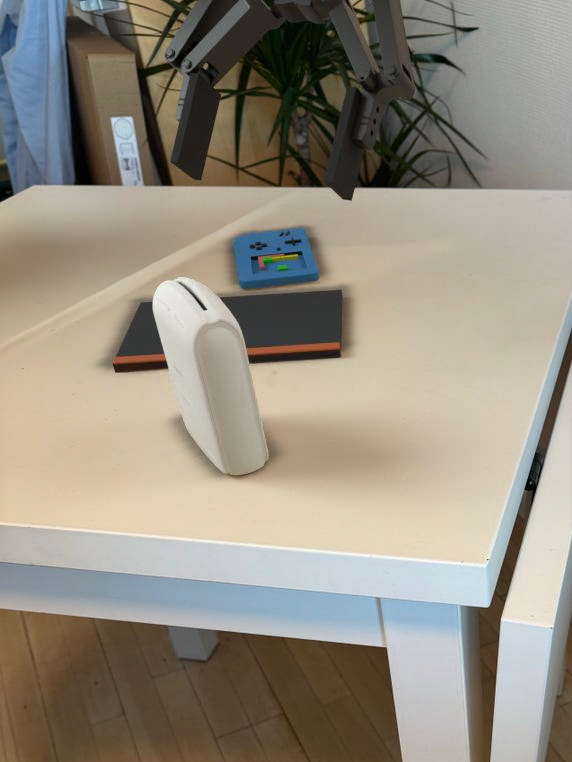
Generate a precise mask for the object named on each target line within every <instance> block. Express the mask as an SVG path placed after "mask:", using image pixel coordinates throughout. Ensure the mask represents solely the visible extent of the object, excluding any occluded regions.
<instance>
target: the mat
mask: <svg viewBox="0 0 572 762" xmlns="http://www.w3.org/2000/svg"><path fill="white" fill-rule="evenodd" d="M218 297H219V298H220V299H221V301H222V302H223V303H224V304H225V305H226V307H227V308H228V309H229V310H230V312H231V313H232V314H233V316H234V317H235V319H236V320H237V322H238V324H239V326H240V328H241V331H242V334H243V338H244V341H245V346H246V351H247V355H248V360H249V364H256V363H257V364H258V363H270V362H272V363H273V362H285V361H287V362H288V361H299V360H315V359H328V358H329V359H330V358H341V357H342V329H343V302H344V301H343V300H344V299H343V289H328V290H326V289H325V290H313V291H312V290H309V291H296V292H295V291H294V292H281V293H264V294H263V293H262V294H249V295H234V296H232V295H231V296H218ZM112 368H113V370H114V373H121V372H139V371H151V370H165V369H167V370H169V368H168V364H167V361H166V357H165V353H164V350H163V346H162V343H161V339H160V335H159V332H158V328H157V324H156V321H155V317H154V313H153V300H152V301H141V302H140V303H139V305H138V306H137V309H136V312H135V313H134V316H133V318H132V320H131V321H130V324H129V326H128V329H127V331H126V333H125V336H124V338H123V340H122V342H121V344H120V347H119V349H118V351H117V353H116V355H115V357H114V358H113V359H112Z"/></svg>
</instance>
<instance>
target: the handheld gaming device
mask: <svg viewBox="0 0 572 762" xmlns="http://www.w3.org/2000/svg"><path fill="white" fill-rule="evenodd" d="M233 250H234V257H235V265H236V271H237V278H238V284H239V288H240V289H241V290H251V289H259V288H269V287H279V286H285V285H294V284H303V283H312V282H316V281H319V280H320V273H319V267H318V264H317V262H316V260H315V256H314V252H313V250H312V246H311V244H310V241H309V238H308V235H307V231H306V229H305V228H303V227H299V228H289V229H280V230H279V229H278V230H269V231H260V232H251V233H247V234H243V235H240V236H238V237H236V238H235V239H233Z"/></svg>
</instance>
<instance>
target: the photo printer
mask: <svg viewBox="0 0 572 762" xmlns="http://www.w3.org/2000/svg"><path fill="white" fill-rule="evenodd" d="M219 297H220V296H219V295H217V294H216V293H215V292H214V291H212V290H211V289H210V288H209V287H208V286H206V285H205V284H203V283H202V282H200V281H198V280H196V279H194V278H191V277H186V276H178V277H176V278H175V279H172V280H171V279H167V280H164V281H162V282H161V283H160V284H159V285H158V286H157V288H156V289H155V292H154V294H153V297H152V301H153V313H154V317H155V321H156V324H157V328H158V332H159V335H160V339H161V343H162V346H163V350H164V353H165V357H166V361H167V364H168V368H169V369H168V371H169V376H170V378H171V383H172V386H173V389H174V393H175V396H176V400H177V403H178V407H179V410H180V414H181V418H182V420H183V423H184V426H185V428H186V430H187V432H188V433H189V435H190V437H191V438H192V439H193V441H194V442H195V443H196V445H197V446H198V447H199V449H200V450H201V451H202V453H204V455H205V456H206V457H207V458H208V459H209V460H210V462H211V463H212V464H213V465H214V466H215V467H216V468H217V469H218V470H219V471H220V472H222V473H223V474H224V475H227V474H229V475H231V476H242V475H247V474H250V473H253V472H256V471H258V470H259V469H261V468H263V466H265V463H266V462H268V461H269V459H270V458H269V457H270V456H269V449H268V445H267V444H268V443H267V439H266V435H265V430H264V426H263V421H262V417H261V412H260V407H259V402H258V398H257V393H256V389H255V384H254V380H253V375H252V374H253V373H252V370H251V365H250V363H249V360H248V355H247V351H246V346H245V341H244V338H243V334H242V331H241V328H240V326H239V324H238V322H237V320H236V319H235V317H234V316H233V314H232V313H231V312H230V310H229V309H228V308H227V307H226V305H225V304H224V303H223V302H222V301H221V299H220V298H219Z"/></svg>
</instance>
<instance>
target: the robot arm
mask: <svg viewBox="0 0 572 762" xmlns="http://www.w3.org/2000/svg"><path fill="white" fill-rule="evenodd" d="M269 1H270V3H271V4H272V6H269V5H268V4H266V2H265V1H264V0H196V2H195V3H194V5H193V6H192V8H191V10H190V11H189V12H188V14H187V16H186V18H185V19H184V21H183V22H182V24H181V25H180V27H179V29H178V30H177V32H176V33H175V35H174V37H173V38H172V39H171V41H170V42H169V44H168V46H167V48H166V49H165V51H164V60H165V61H166V62H167V63H168V64H169V65H170V66H171V67H173V68H174V70H176V71H177V72H178V73H179V74H180V75H181V76H182V83H181V87H180V92H179V96H178V99H177V105H176V109H175V121H177V122H178V125H177V129H176V134H175V139H174V144H173V147H172V151H171V156H170V159H169V162H170V163H171V164H172V165H174V166H175V167H176V168H178V169H179V170H180V171H181V172H183V173H184V174H186V175H187V176H188V177H189V178H191V180H195V181H202V179H203V175H204V170H205V167H206V161H207V158H208V153H209V149H210V145H211V141H212V138H213V137H212V136H213V132H214V127H215V123H216V119H217V115H218V110H219V106H220V102H221V98H222V94H221V92H219V91H218V90H217V89H216V88H215V87H216V86H217V85H218V84H219V83H220V82H221V80H222V79H223V78H224V77H225V76H226V75H227V74H228V73H229V72H230V71H231V70H232V69H233V68H234V67H235V66H236V65H237V64H238V62H239V61H241V59H243V57H244V56H245V55H246V54H247V53H249V51H250V50H251V49H253V47H254V46H255V45H256V44H257V43H258V42H259V41H260V40H261V38H262V37H263V36H264V35H266V33H267V32H268V31H270V30H278V29H279V28H280V27H281V26H282V25H283V24H284V23H285V22H286V21H288V22H289V23H302V22H307V21H309V22H311V23H313V24H316V25H317V24H318V25H325V24H326V21H327V20H329V19H331V21H332V25H333V26H334V28H335V30H336V33H337V35H338V37H339V40H340V42H341V45H342V47H343V49H344V52H345V54H346V56H347V59H348V60H349V62H350V65H351V67H352V69H353V72H354V74H355V77H354V79H355V81H356V82H357V83H358V84H359V85H360V87H361V89H359V88H358V86H348V85H347V86H346V89H345V94H344V99H343V102H342V106H341V110H340V114H339V119H338V123H337V127H336V131H335V135H334V139H333V143H332V147H331V151H330V155H329V159H328V163H327V167H326V171H325V175H324V179H323V182H324V184H326V186H328V187H329V188H330V189H331V190H332V191H333V192H334V193H335V194H336V195H337V196H338V197H340V199H341V200H343V201H351V202H352V201H353V198H354V193H355V189H356V185H357V182H358V177H359V174H360V169H361V166H362V161H363V158H364V154H365V151H372V150H373V148H374V147H375V145H376V143H377V138H378V134H379V129H380V126H381V122H382V117H383V115H384V111H385V107H387V106H388V105H389V103H390V102H391V101H394V100H397V99H401V100H402V101H410V100H411V99H412V98H413V97H414V96H415V93H416V86H415V80H414V74H413V67H412V62H411V57H410V50H409V44H408V39H407V34H406V27H405V21H404V14H403V9H402V4H401V0H371V2H372V8H373V15H374V20H375V27H376V32H377V38H378V44H379V50H380V56H381V57H380V58H381V62H382V68H383V70H380V69H379V65H378V64H377V62H376V60H375V57H374V54H373V53H372V51H371V48H370V46H369V44H368V42H367V39H366V36H365V35H364V32H363V30H362V28H361V25H360V24H361V22H360V20H359V18H358V16H357V13H356V12H355V9H354V6H353V5H352V2H351V0H269ZM206 64H207V67H206V68H204V66H205V65H206Z"/></svg>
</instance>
